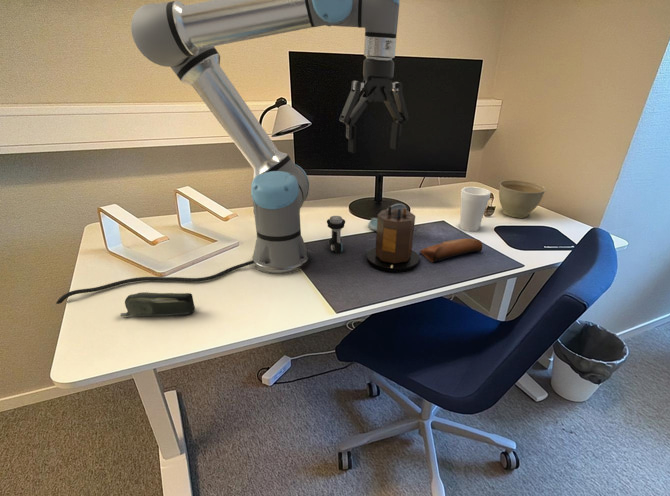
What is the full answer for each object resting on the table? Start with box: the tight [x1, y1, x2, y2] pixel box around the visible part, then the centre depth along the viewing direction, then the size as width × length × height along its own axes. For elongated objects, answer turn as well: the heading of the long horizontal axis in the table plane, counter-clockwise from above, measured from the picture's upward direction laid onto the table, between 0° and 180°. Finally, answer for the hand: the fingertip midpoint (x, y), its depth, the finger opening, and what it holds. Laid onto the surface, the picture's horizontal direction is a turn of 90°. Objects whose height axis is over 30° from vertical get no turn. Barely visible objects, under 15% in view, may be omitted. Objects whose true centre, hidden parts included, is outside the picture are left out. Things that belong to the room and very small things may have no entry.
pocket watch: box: [368, 202, 408, 233], centre depth 131 cm, size 10×11×15 cm
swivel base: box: [366, 246, 420, 274], centre depth 113 cm, size 15×15×2 cm
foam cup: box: [459, 186, 492, 232], centre depth 134 cm, size 10×9×13 cm
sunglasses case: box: [419, 238, 484, 263], centre depth 119 cm, size 18×7×7 cm
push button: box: [326, 215, 346, 254], centre depth 116 cm, size 7×5×10 cm
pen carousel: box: [375, 205, 416, 263], centre depth 109 cm, size 10×10×14 cm
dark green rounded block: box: [120, 291, 196, 317], centre depth 86 cm, size 5×3×15 cm
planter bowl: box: [498, 179, 546, 219], centre depth 149 cm, size 16×16×11 cm
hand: (373, 150), depth 107 cm, fingers open, 13 cm apart
